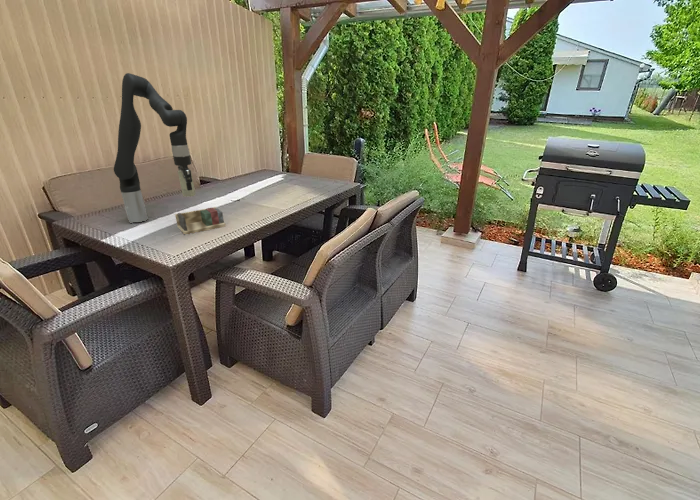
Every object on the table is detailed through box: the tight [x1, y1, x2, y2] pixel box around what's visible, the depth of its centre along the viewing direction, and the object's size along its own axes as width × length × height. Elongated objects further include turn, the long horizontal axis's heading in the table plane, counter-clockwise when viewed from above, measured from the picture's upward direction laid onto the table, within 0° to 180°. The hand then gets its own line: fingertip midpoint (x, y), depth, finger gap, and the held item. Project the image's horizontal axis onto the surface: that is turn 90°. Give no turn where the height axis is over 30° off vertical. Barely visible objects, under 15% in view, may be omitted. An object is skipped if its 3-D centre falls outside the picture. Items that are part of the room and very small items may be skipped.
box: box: [177, 168, 197, 198], centre depth 173 cm, size 5×4×13 cm
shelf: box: [174, 206, 227, 235], centre depth 184 cm, size 21×13×8 cm, turn 128°
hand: (187, 188), depth 174 cm, fingers closed on box, 6 cm apart
